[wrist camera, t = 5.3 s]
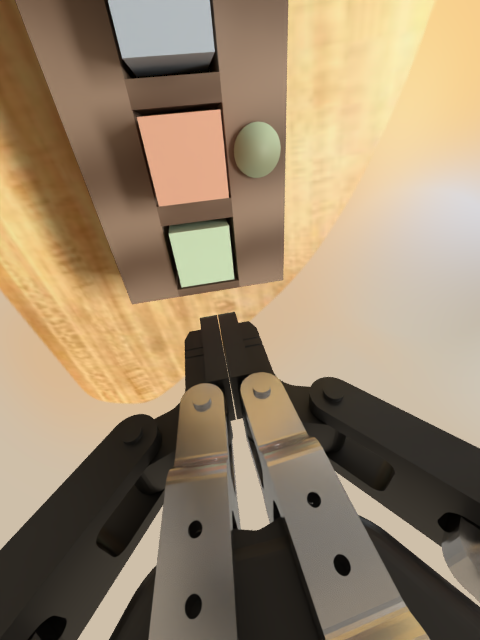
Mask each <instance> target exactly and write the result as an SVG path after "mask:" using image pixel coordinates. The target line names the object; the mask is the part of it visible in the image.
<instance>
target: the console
mask: <svg viewBox="0 0 480 640" xmlns="http://www.w3.org/2000/svg"><path fill="white" fill-rule="evenodd" d="M15 1H16V4H17V7H18V9H19V12H20V14H21V17H22V20H23V22H24V25H25V27H26V30H27V33H28V35H29V38H30V40H31V43H32V46H33V48H34V51H35V53H36V56H37V59H38V61H39V64H40V66H41V69H42V72H43V74H44V77H45V79H46V82H47V85H48V87H49V90H50V92H51V95H52V98H53V100H54V103H55V105H56V108H57V111H58V113H59V116H60V118H61V121H62V124H63V126H64V129H65V131H66V134H67V137H68V139H69V142H70V144H71V147H72V150H73V152H74V155H75V157H76V160H77V163H78V165H79V168H80V170H81V173H82V176H83V178H84V181H85V183H86V186H87V189H88V191H89V194H90V196H91V199H92V202H93V204H94V207H95V209H96V212H97V215H98V217H99V220H100V222H101V225H102V228H103V230H104V233H105V235H106V238H107V241H108V243H109V246H110V248H111V251H112V254H113V256H114V259H115V261H116V264H117V267H118V269H119V272H120V274H121V277H122V280H123V282H124V285H125V287H126V290H127V293H128V295H129V298H130V300H131V303H132V304H137V303H143V302H150V301H156V300H162V299H168V298H174V297H181V296H187V295H193V294H199V293H206V292H212V291H218V290H224V289H230V288H237V287H243V286H249V285H255V284H262V283H268V282H274V281H280V280H283V261H284V205H285V149H286V93H287V37H288V0H210V8H211V18H212V29H213V39H214V49H215V52H214V55H213V57H212V60H211V62H210V65H209V73H199V74H186V75H174V76H161V77H148V78H135V79H134V75H133V71H132V70H131V69H130V68H129V66H128V65H127V64H126V62H125V61H124V60H123V59H122V55H121V51H120V47H119V43H118V39H117V35H116V31H115V27H114V23H113V19H112V15H111V11H110V7H109V3H108V0H15ZM209 109H213V110H219V109H220V110H221V121H222V131H223V141H224V151H225V162H226V172H227V182H228V192H229V198H224V199H216V200H208V201H200V202H192V203H184V204H176V205H168V206H160V207H159V205H158V201H157V197H156V192H155V188H154V184H153V180H152V176H151V172H150V168H149V164H148V160H147V156H146V152H145V148H144V144H143V140H142V136H141V132H140V128H139V124H138V120H137V117H143V116H144V115H155V114H166V113H177V112H187V111H198V110H209ZM221 218H225V219H226V221H227V223H228V225H229V232H230V241H231V251H232V261H233V270H234V279H232V280H226V281H219V282H213V283H207V284H200V285H194V286H187V287H181V283H180V279H179V275H178V270H177V266H176V262H175V258H174V254H173V250H172V246H171V241H170V237H169V225H176V224H183V223H191V222H198V221H206V220H213V219H221Z"/></svg>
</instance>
